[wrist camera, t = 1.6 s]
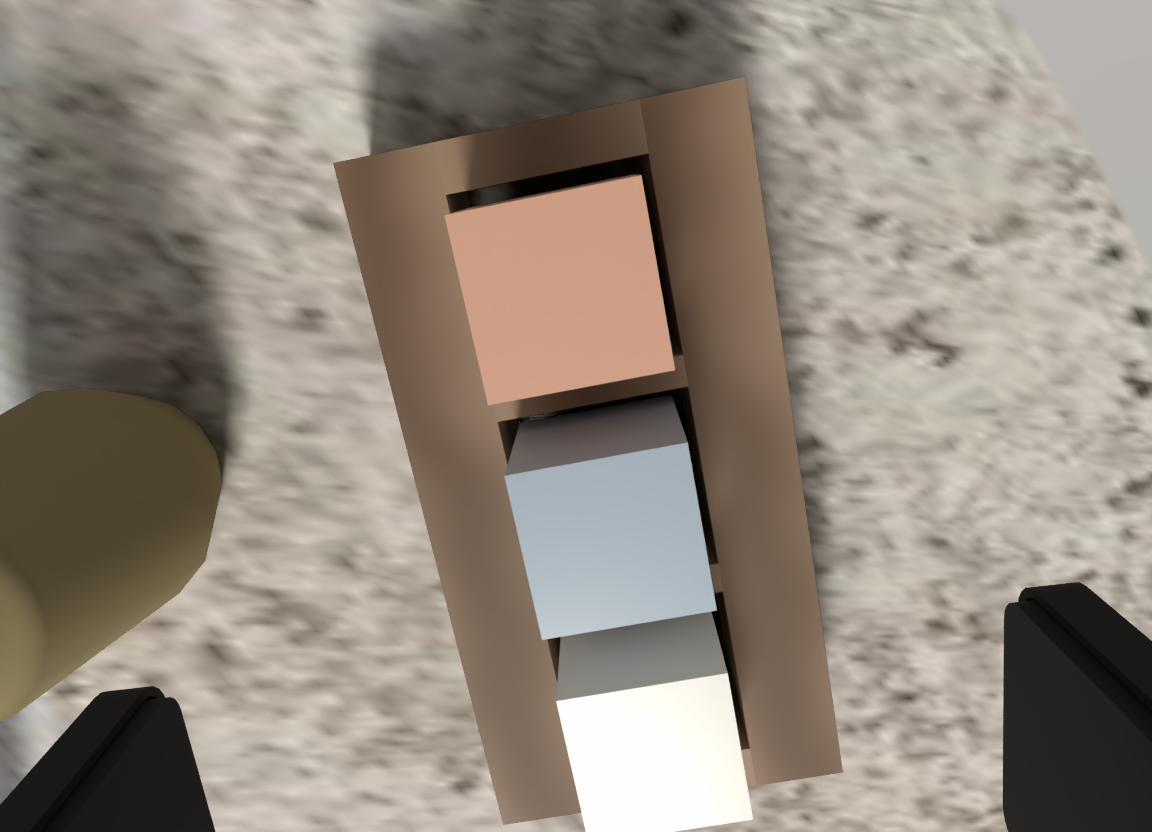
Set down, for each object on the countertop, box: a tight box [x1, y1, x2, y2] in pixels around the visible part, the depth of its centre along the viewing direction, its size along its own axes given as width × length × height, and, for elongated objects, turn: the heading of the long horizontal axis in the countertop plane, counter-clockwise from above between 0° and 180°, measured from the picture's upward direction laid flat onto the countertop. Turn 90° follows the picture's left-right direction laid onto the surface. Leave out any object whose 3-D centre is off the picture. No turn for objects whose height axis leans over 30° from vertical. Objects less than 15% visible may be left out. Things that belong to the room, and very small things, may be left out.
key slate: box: [504, 395, 717, 640], centre depth 27 cm, size 5×5×5 cm
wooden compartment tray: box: [333, 77, 843, 825], centre depth 31 cm, size 12×23×4 cm, turn 11°
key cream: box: [556, 612, 753, 832], centre depth 29 cm, size 5×5×5 cm
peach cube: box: [444, 174, 675, 405], centre depth 26 cm, size 5×5×5 cm
